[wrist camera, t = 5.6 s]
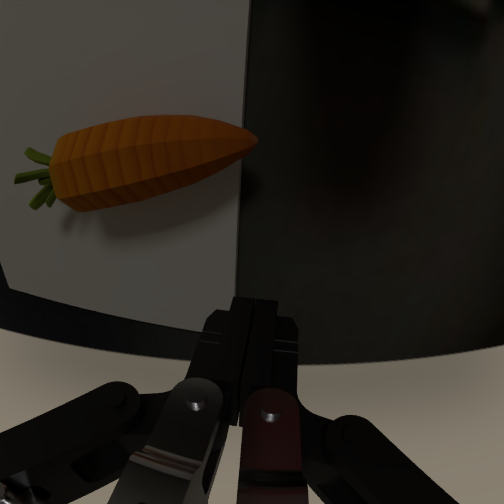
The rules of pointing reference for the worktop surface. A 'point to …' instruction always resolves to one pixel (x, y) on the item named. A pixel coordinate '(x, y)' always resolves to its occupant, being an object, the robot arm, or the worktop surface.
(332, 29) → the worktop surface
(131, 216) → the rubber mat
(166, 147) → the carrot
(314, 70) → the worktop surface
